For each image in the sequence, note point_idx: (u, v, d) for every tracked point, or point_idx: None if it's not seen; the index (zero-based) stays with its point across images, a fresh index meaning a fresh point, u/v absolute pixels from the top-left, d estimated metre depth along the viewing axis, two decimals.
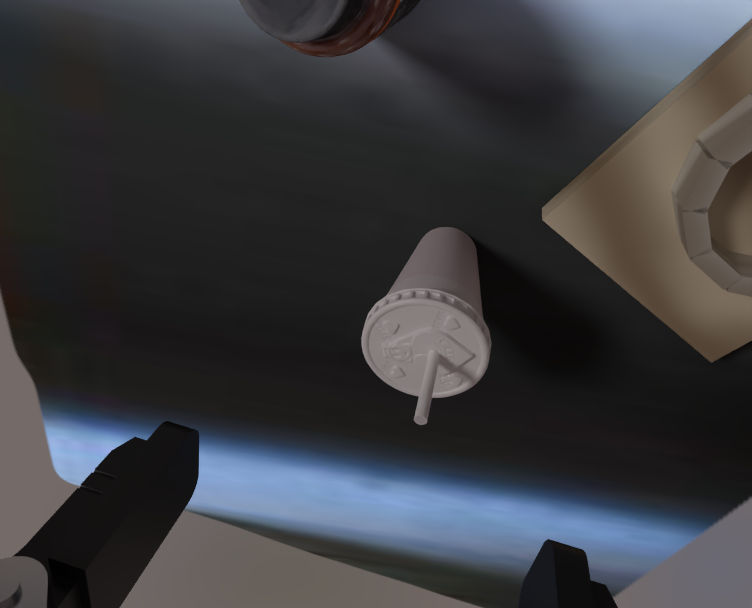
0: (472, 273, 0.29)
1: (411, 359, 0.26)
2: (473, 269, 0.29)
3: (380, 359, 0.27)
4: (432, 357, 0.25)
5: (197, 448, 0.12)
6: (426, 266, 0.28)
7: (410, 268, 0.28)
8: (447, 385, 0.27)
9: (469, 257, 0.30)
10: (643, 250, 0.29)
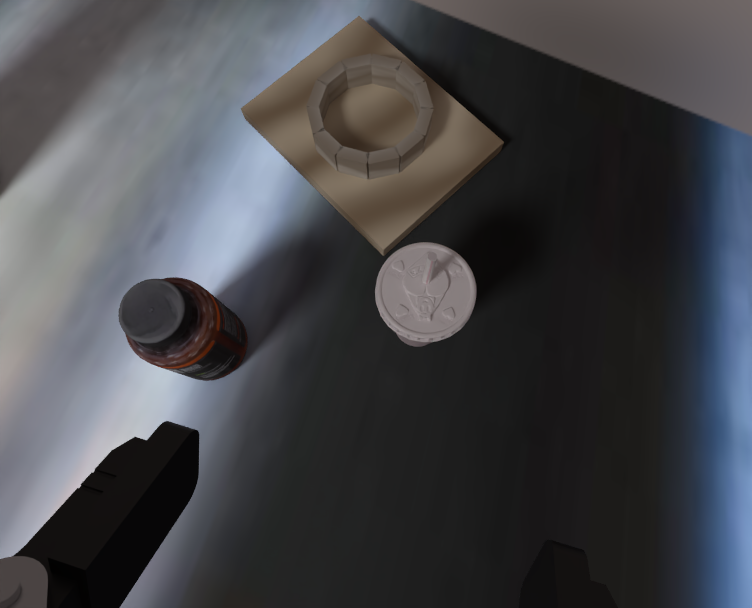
0: None
1: (431, 297, 0.33)
2: None
3: (435, 325, 0.33)
4: (422, 277, 0.33)
5: (197, 448, 0.12)
6: None
7: None
8: (461, 275, 0.33)
9: None
10: (410, 190, 0.44)
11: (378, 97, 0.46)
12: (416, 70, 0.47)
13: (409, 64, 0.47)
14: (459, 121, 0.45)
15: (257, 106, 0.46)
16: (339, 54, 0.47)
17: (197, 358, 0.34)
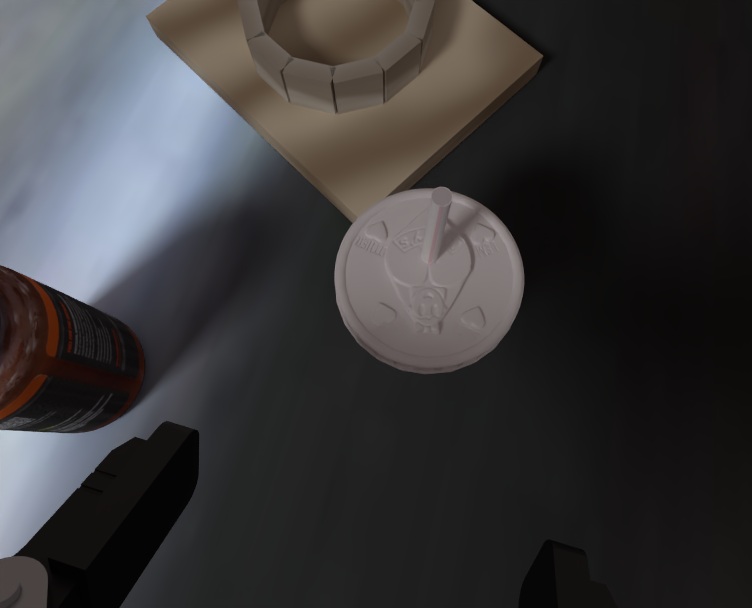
0: None
1: (440, 289, 0.17)
2: None
3: (448, 341, 0.17)
4: (422, 250, 0.17)
5: (197, 448, 0.12)
6: None
7: None
8: (494, 246, 0.18)
9: None
10: (401, 128, 0.28)
11: None
12: None
13: None
14: (474, 27, 0.30)
15: (170, 12, 0.31)
16: None
17: (9, 408, 0.18)
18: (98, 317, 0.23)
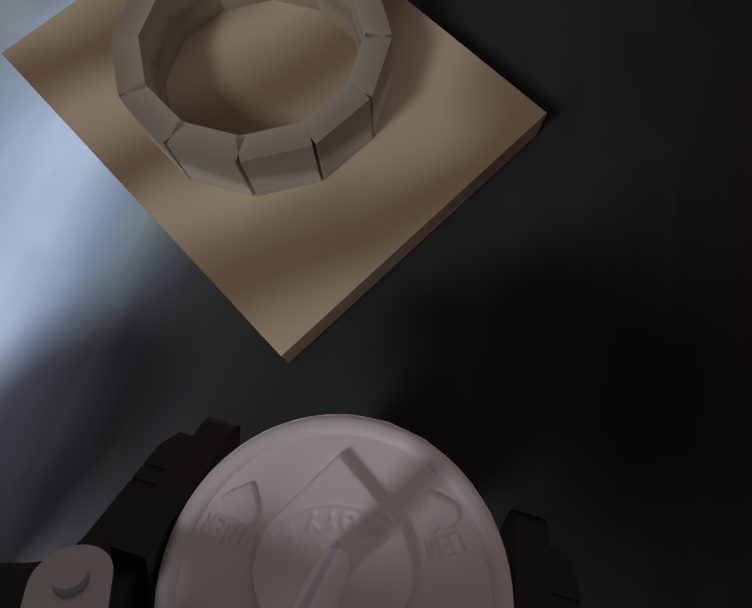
0: None
1: None
2: None
3: None
4: None
5: (238, 443, 0.12)
6: None
7: None
8: (459, 538, 0.10)
9: None
10: (344, 218, 0.20)
11: (284, 26, 0.23)
12: None
13: None
14: (451, 71, 0.22)
15: (36, 48, 0.22)
16: None
17: None
18: None
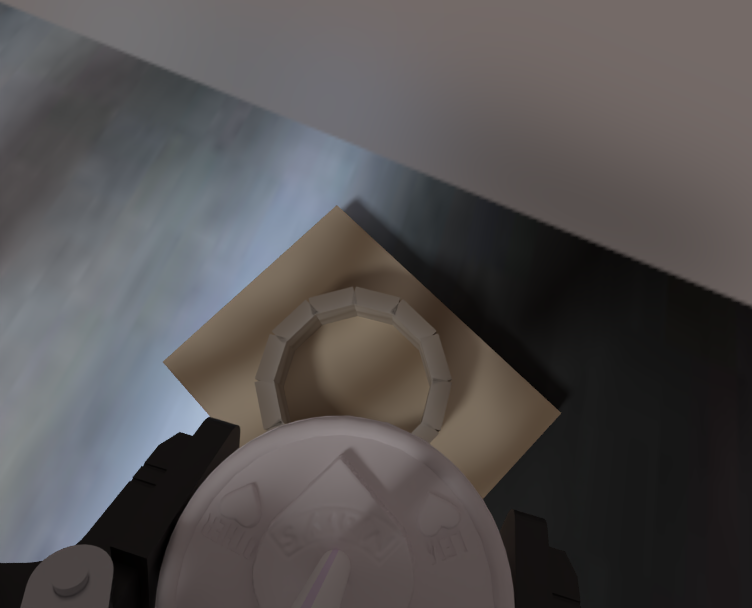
0: None
1: None
2: None
3: None
4: None
5: (238, 443, 0.12)
6: None
7: None
8: (459, 540, 0.10)
9: None
10: None
11: (367, 339, 0.31)
12: (423, 292, 0.31)
13: (412, 282, 0.32)
14: (490, 377, 0.30)
15: (187, 357, 0.31)
16: (308, 268, 0.32)
17: None
18: None
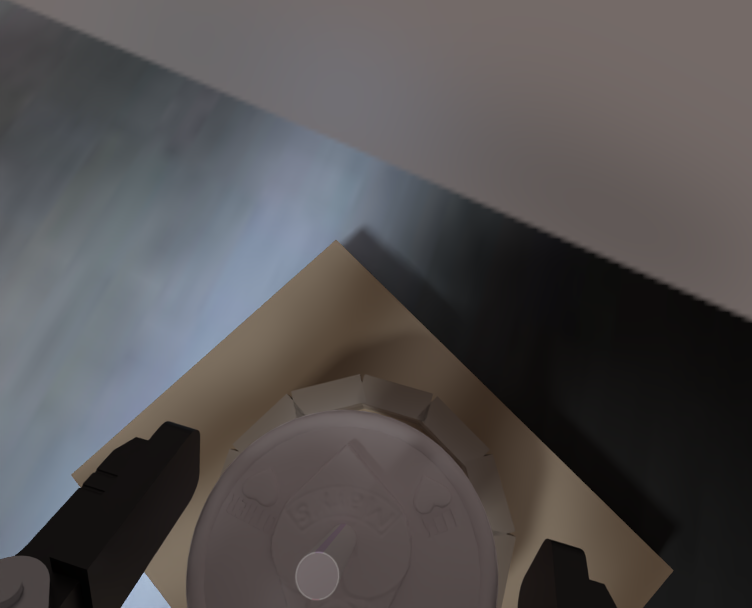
0: None
1: (357, 604, 0.10)
2: None
3: None
4: None
5: (198, 448, 0.12)
6: None
7: None
8: (450, 517, 0.11)
9: None
10: None
11: None
12: (461, 374, 0.21)
13: (446, 359, 0.21)
14: (565, 511, 0.20)
15: None
16: (293, 334, 0.22)
17: None
18: None
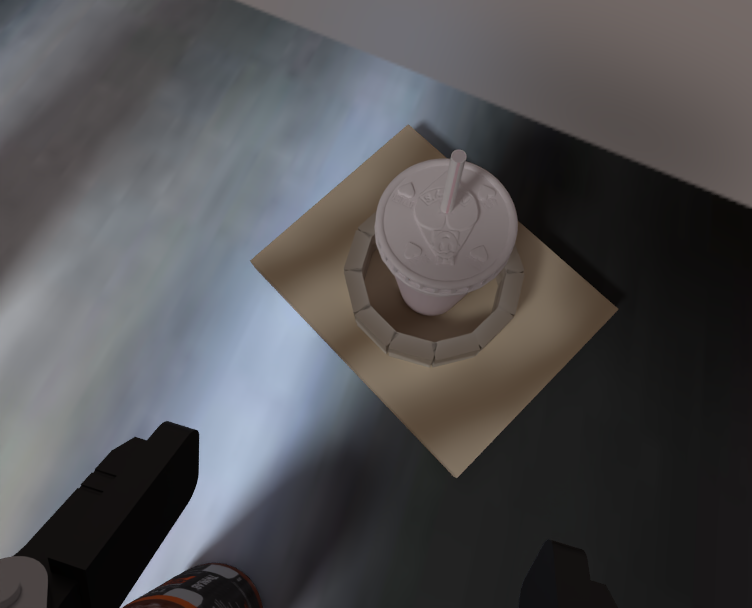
0: None
1: (454, 232, 0.23)
2: None
3: (461, 270, 0.23)
4: (441, 202, 0.23)
5: (197, 448, 0.12)
6: None
7: (394, 275, 0.27)
8: (495, 201, 0.24)
9: None
10: (490, 383, 0.31)
11: None
12: None
13: None
14: (553, 278, 0.33)
15: (273, 257, 0.34)
16: (383, 180, 0.35)
17: None
18: (235, 600, 0.26)
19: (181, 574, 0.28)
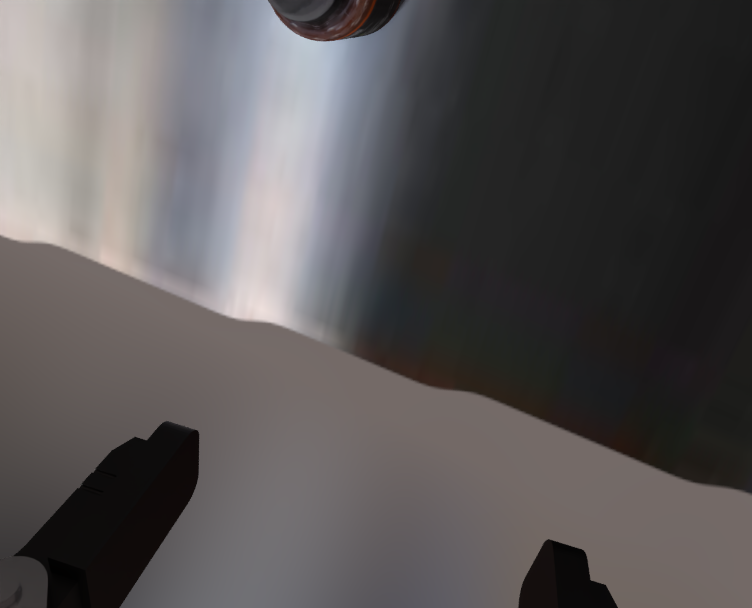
0: None
1: None
2: None
3: None
4: None
5: (197, 448, 0.12)
6: None
7: None
8: None
9: None
10: None
11: None
12: None
13: None
14: None
15: None
16: None
17: (360, 24, 0.28)
18: None
19: None
